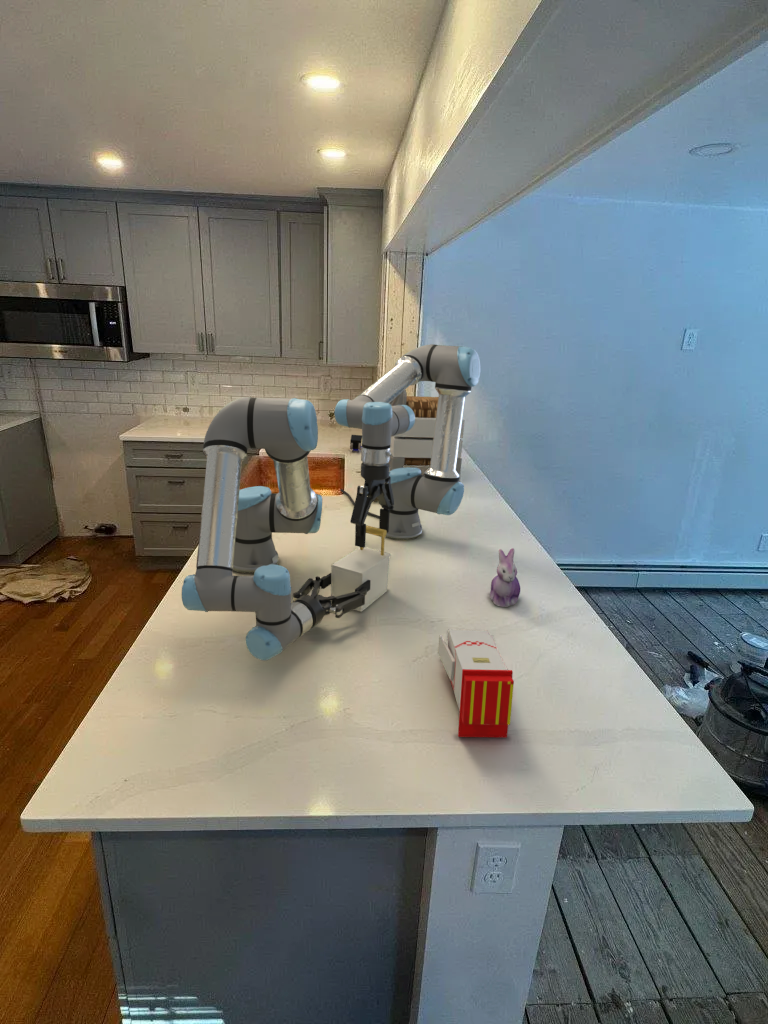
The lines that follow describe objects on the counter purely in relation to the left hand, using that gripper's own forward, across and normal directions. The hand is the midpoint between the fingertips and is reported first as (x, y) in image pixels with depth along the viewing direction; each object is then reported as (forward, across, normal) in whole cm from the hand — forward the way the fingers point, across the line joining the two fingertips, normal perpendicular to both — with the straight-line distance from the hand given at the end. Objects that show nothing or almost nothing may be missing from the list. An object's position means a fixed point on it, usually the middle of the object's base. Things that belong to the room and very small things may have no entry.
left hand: (352, 579), depth 150 cm
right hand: (+10, 0, +8) cm, 13 cm away
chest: (+4, 0, -7) cm, 8 cm away
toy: (-19, +41, -7) cm, 45 cm away
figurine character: (+146, -89, -7) cm, 171 cm away
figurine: (+24, +35, -7) cm, 43 cm away
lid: (+5, 0, +3) cm, 6 cm away
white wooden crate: (+126, -40, -7) cm, 133 cm away
